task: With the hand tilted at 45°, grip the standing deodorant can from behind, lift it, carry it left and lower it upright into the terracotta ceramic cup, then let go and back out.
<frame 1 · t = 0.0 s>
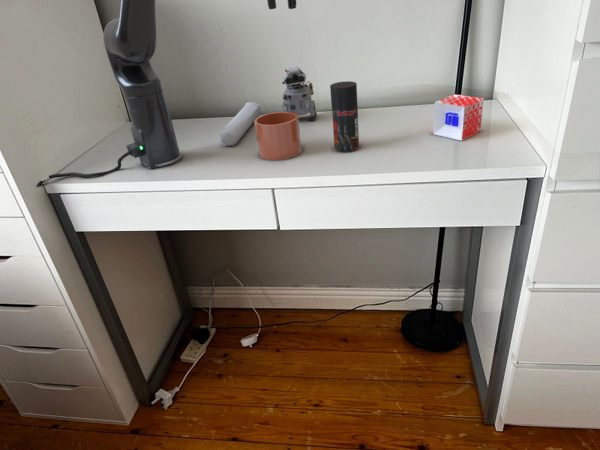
hand: (282, 8, 123), 29 cm above the table, tool pointing down, fingers open, 8 cm apart
tube: (242, 132, 127), on the table
deodorant: (346, 148, 108), on the table
cup: (280, 152, 110), on the table
figurine: (299, 122, 130), on the table
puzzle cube: (456, 133, 109), on the table
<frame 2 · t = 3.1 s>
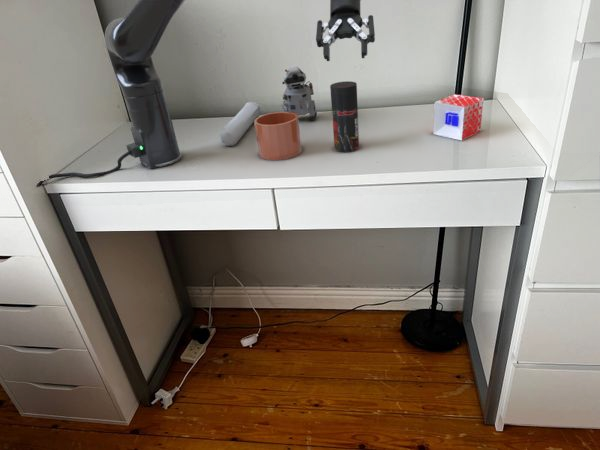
hand: (345, 57, 108), 19 cm above the table, tool tilted 45°, fingers open, 8 cm apart
nothing on the table moved.
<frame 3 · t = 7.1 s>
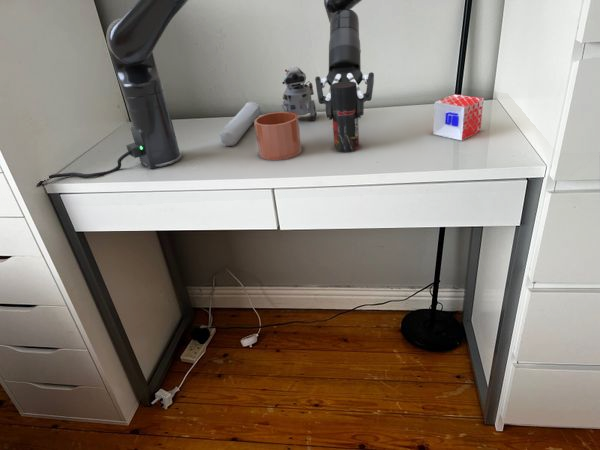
hand: (344, 117, 102), 8 cm above the table, tool tilted 45°, fingers closed on deodorant, 6 cm apart
deodorant: (346, 148, 108), on the table, touching gripper
everything else where it was.
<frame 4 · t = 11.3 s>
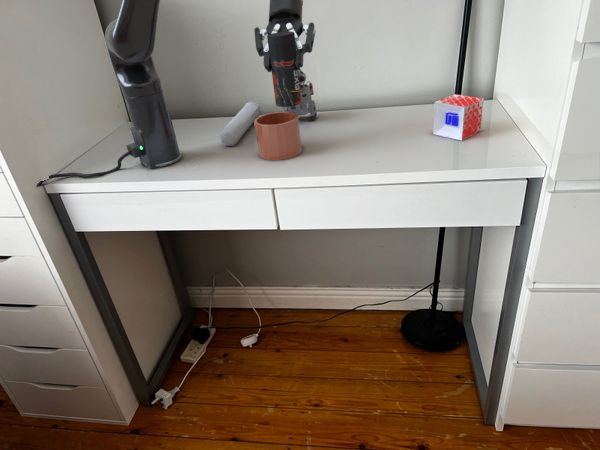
hand: (283, 68, 98), 20 cm above the table, tool tilted 45°, fingers closed on deodorant, 6 cm apart
deodorant: (288, 104, 104), point 12 cm above the table, touching gripper
everything else where it was.
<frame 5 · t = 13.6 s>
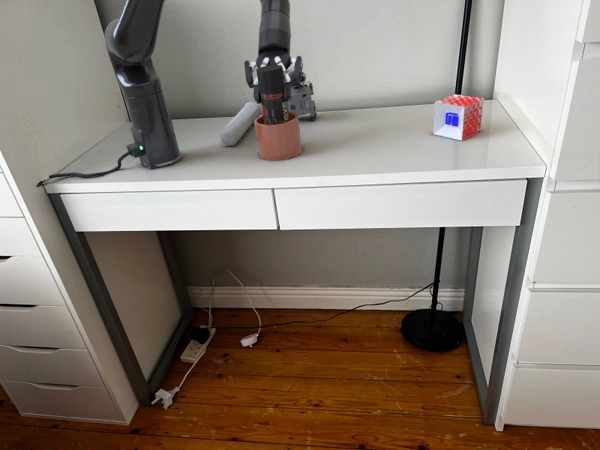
hand: (272, 100, 102), 13 cm above the table, tool tilted 45°, fingers closed on deodorant, 6 cm apart
deodorant: (278, 133, 108), point 5 cm above the table, touching gripper
everything else where it was.
when the fingers open (9 cm above the table, at t = 15.5 s): deodorant stays where it is, resting on cup.
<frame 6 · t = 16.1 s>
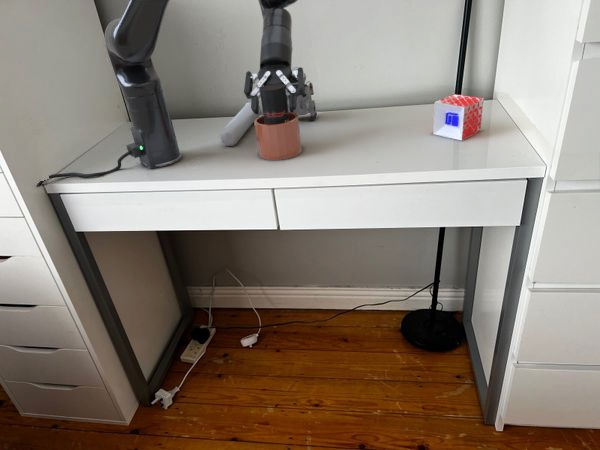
hand: (273, 111, 104), 11 cm above the table, tool tilted 45°, fingers open, 8 cm apart
deodorant: (280, 149, 110), point 1 cm above the table, touching cup
everything else where it was.
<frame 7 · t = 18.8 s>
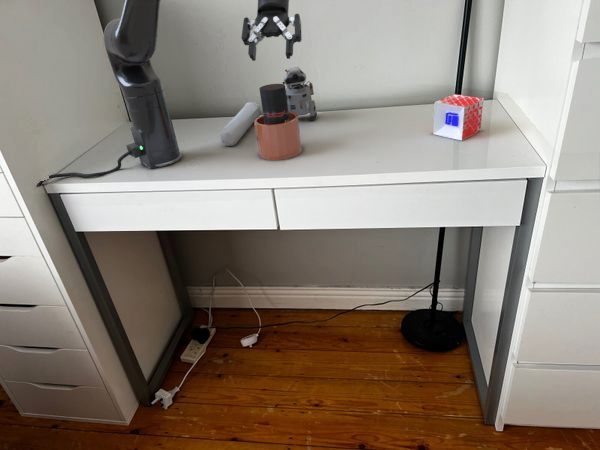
hand: (270, 58, 106), 21 cm above the table, tool tilted 40°, fingers open, 8 cm apart
nothing on the table moved.
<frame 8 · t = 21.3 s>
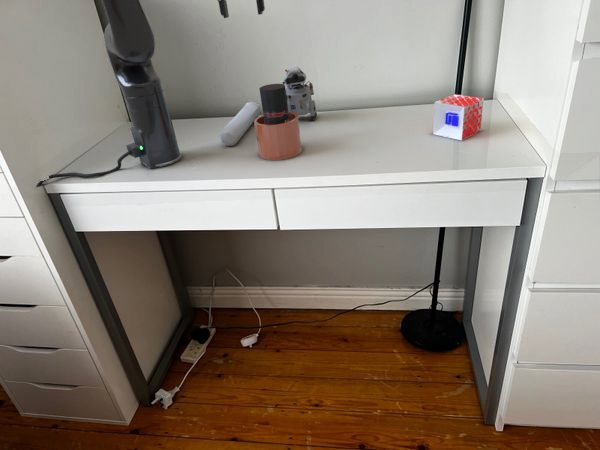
hand: (243, 15, 107), 30 cm above the table, tool pointing down, fingers open, 8 cm apart
nothing on the table moved.
at the end: deodorant 0.2 cm off-centre in the cup, point 0.6 cm above the cup's base; deodorant tilted 0°; the gripper is holding nothing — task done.
